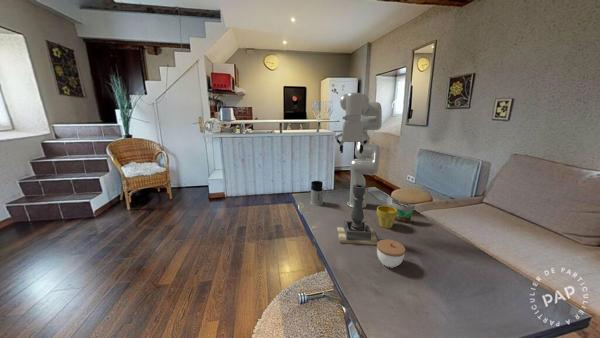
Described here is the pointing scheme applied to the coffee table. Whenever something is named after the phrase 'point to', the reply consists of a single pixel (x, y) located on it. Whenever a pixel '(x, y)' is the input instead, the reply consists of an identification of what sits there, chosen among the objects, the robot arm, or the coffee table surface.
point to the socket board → (356, 234)
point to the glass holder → (317, 193)
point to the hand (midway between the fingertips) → (351, 152)
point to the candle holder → (357, 208)
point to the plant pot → (386, 216)
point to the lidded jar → (390, 253)
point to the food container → (403, 212)
